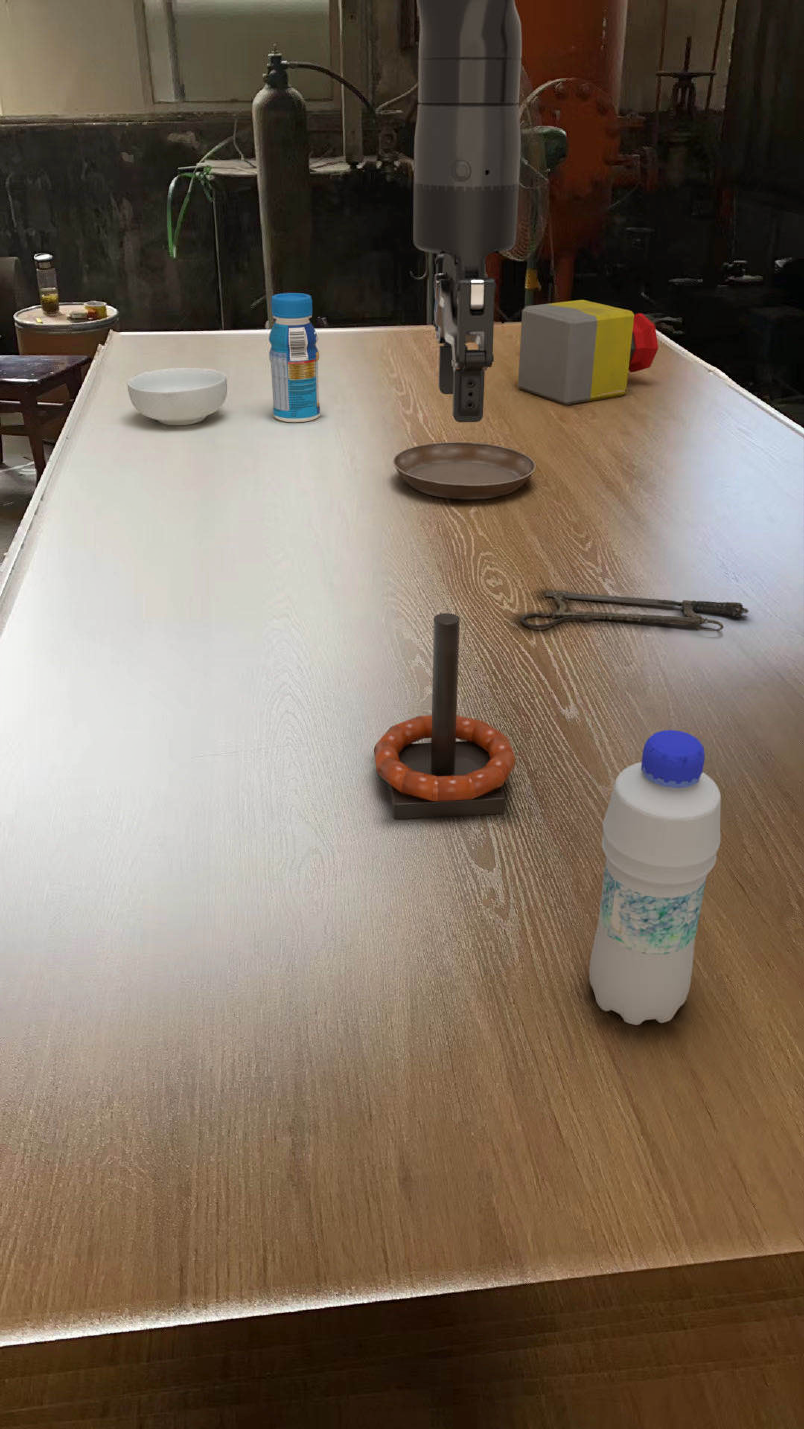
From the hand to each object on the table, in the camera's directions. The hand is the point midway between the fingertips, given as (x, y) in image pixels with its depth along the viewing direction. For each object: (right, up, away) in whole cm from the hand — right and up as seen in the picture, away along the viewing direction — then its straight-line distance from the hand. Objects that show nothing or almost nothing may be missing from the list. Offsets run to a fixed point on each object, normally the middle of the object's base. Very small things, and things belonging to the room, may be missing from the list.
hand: (459, 406), depth 86 cm
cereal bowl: (-43, +27, +103) cm, 115 cm away
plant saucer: (+5, +10, +74) cm, 75 cm away
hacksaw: (+21, -14, +34) cm, 42 cm away
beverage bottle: (-23, +28, +105) cm, 111 cm away
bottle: (+11, -43, -15) cm, 47 cm away
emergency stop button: (+31, +38, +122) cm, 132 cm away
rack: (-1, -30, +6) cm, 31 cm away
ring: (-1, -28, +5) cm, 28 cm away
